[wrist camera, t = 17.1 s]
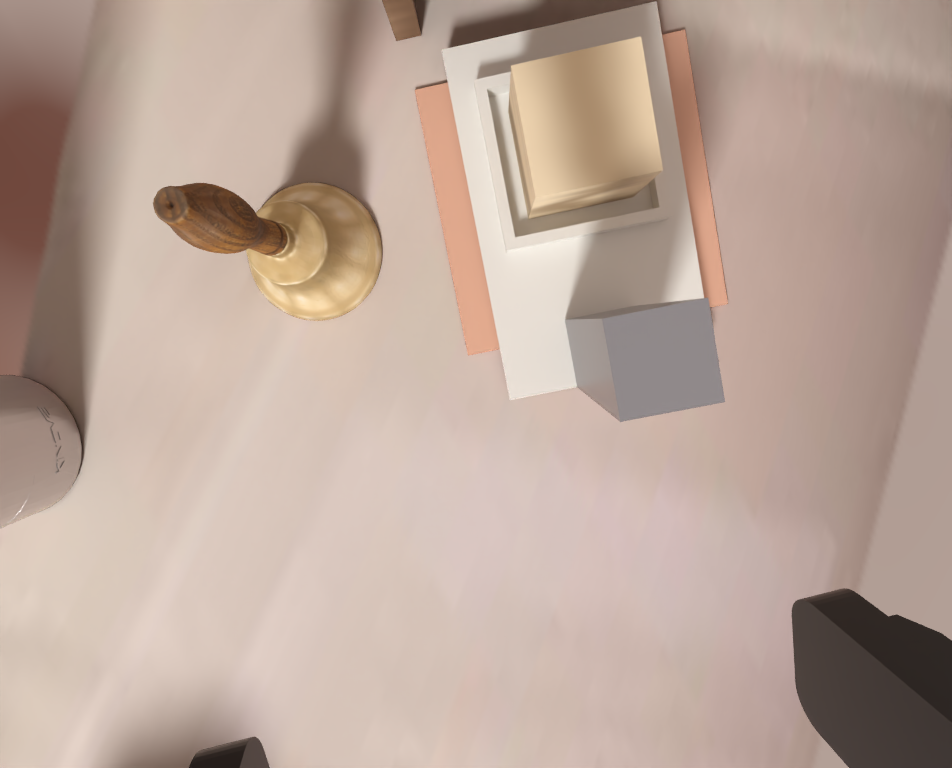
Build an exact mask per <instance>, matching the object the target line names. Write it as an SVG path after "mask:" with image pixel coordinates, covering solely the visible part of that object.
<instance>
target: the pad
mask: <svg viewBox="0 0 952 768" xmlns="http://www.w3.org/2000/svg"><path fill="white" fill-rule="evenodd" d="M662 38H663V44H664V51H665V57H666V63H667V69H668V76H669V82H670V88H671V94H672V101H673V107H674V113H675V119H676V126H677V132H678V138H679V144H680V150H681V157H682V163H683V169H684V175H685V182H686V188H687V194H688V200H689V207H690V213H691V219H692V225H693V232H694V238H695V244H696V250H697V257H698V263H699V269H700V275H701V282H702V288H703V294H704V298H708V299H709V305H710V307H715V306H720V305H725V304H728V300H727V294H726V288H725V281H724V275H723V268H722V262H721V256H720V249H719V243H718V236H717V230H716V224H715V217H714V211H713V204H712V198H711V192H710V185H709V179H708V172H707V166H706V160H705V153H704V147H703V140H702V134H701V128H700V121H699V115H698V109H697V102H696V96H695V89H694V83H693V77H692V70H691V64H690V57H689V51H688V45H687V38H686V32H685V30H681V31H676V32H672V33H667V34H663V35H662ZM415 94H416V99H417V104H418V109H419V114H420V119H421V124H422V128H423V133H424V138H425V143H426V148H427V153H428V158H429V163H430V168H431V173H432V178H433V183H434V188H435V193H436V198H437V203H438V208H439V213H440V218H441V223H442V228H443V233H444V238H445V243H446V248H447V253H448V258H449V263H450V268H451V273H452V278H453V283H454V287H455V292H456V297H457V302H458V307H459V312H460V317H461V322H462V327H463V332H464V337H465V342H466V347H467V352H468V355H473V354H478V353H483V352H488V351H493V350H498V349H500V347H499V342H498V337H497V331H496V326H495V321H494V316H493V311H492V306H491V301H490V296H489V291H488V285H487V280H486V275H485V270H484V265H483V260H482V255H481V250H480V245H479V239H478V234H477V229H476V224H475V219H474V214H473V209H472V204H471V199H470V193H469V188H468V183H467V178H466V173H465V168H464V163H463V158H462V153H461V147H460V142H459V137H458V132H457V127H456V122H455V117H454V112H453V107H452V101H451V96H450V91H449V86H448V83H443V84H439V85H434V86H430V87H425V88H421V89H417V90H415Z"/></svg>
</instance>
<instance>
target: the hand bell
mask: <svg viewBox="0 0 952 768" xmlns="http://www.w3.org/2000/svg"><path fill="white" fill-rule="evenodd" d="M153 206H154V210H155V213H156V214H157V216H158V217H159V218H160V219H161V220H162V221H164V222H165V223H167V224H168V225H169V226H170V227H171V228H172V229H173V231H174V232H175V233H176V234H177V235H178V236H179V237H181V238H182V239H183V240H185V241H186V242H187V243H189V244H191V245H192V246H194V247H197V248H199V249H202V250H206V251H209V252H214V253H224V254H228V253H238V252H241V251H244V250H246V253H247V256H248V261H249V266H250V270H251V273H252V276H253V278H254V280H255V282H256V284H257V286H258V288H259V289H260V291H261V292H262V293H263V295H264V296H265V297H266V298H267V299H268V300H269V301H270V302H271V303H272V304H273V305H274V306H276V307H277V308H279V309H280V310H282V311H283V312H285V313H287V314H289V315H292V316H294V317H297V318H300V319H304V320H313V321H320V320H328V319H333V318H337V317H339V316H342V315H344V314H346V313H348V312H350V311H351V310H353V309H354V308H356V307H357V306H358V305H359V304H360V303H361V302H362V301H363V300H364V299H365V298H366V297H367V296H368V294H369V293H370V292H371V290H372V289H373V287H374V285H375V283H376V280H377V278H378V275H379V271H380V267H381V261H382V246H381V240H380V235H379V232H378V229H377V227H376V225H375V222H374V220H373V219H372V217H371V215H370V214H369V212H368V211H367V209H366V208H365V207H364V206H363V205H362V204H361V202H359V201H358V200H357V199H356V198H355V197H353V196H352V195H351V194H349V193H348V192H346V191H344V190H342V189H340V188H338V187H335V186H332V185H328V184H324V183H302V184H297V185H294V186H290V187H288V188H286V189H283V190H281V191H280V192H278V193H277V194H275V195H274V196H273V197H271V198H270V199H269V200H268V201H267V202H266V203H265V204H264V205H263V207H262V208H261V209H259V210H258V211H257V212H256V213H255V211H254V210H253V209H252V208H251V206H250V205H249V204H248V203H247V202H245V201H244V200H243V199H242V198H241V197H239V196H238V195H236V194H235V193H233V192H231V191H229V190H227V189H225V188H222V187H219V186H216V185H213V184H207V183H194V184H187V185H183V186H168V187H164V188H162V189H161V190H159V191H158V192H157V194H156V196H155V198H154V202H153Z"/></svg>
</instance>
